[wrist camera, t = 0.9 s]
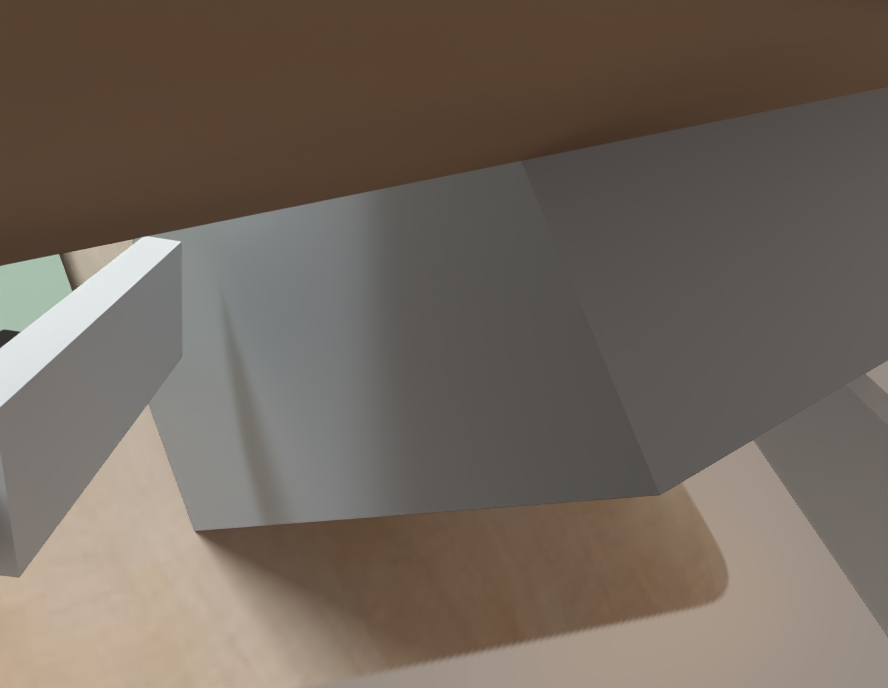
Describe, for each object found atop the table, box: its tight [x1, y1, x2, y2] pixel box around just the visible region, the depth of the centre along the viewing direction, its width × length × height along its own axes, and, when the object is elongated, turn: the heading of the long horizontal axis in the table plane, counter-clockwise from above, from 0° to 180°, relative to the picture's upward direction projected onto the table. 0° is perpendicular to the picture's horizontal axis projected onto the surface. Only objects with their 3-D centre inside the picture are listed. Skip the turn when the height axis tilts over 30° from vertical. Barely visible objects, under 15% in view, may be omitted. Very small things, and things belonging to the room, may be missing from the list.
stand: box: [133, 87, 888, 531], centre depth 22 cm, size 10×14×30 cm
